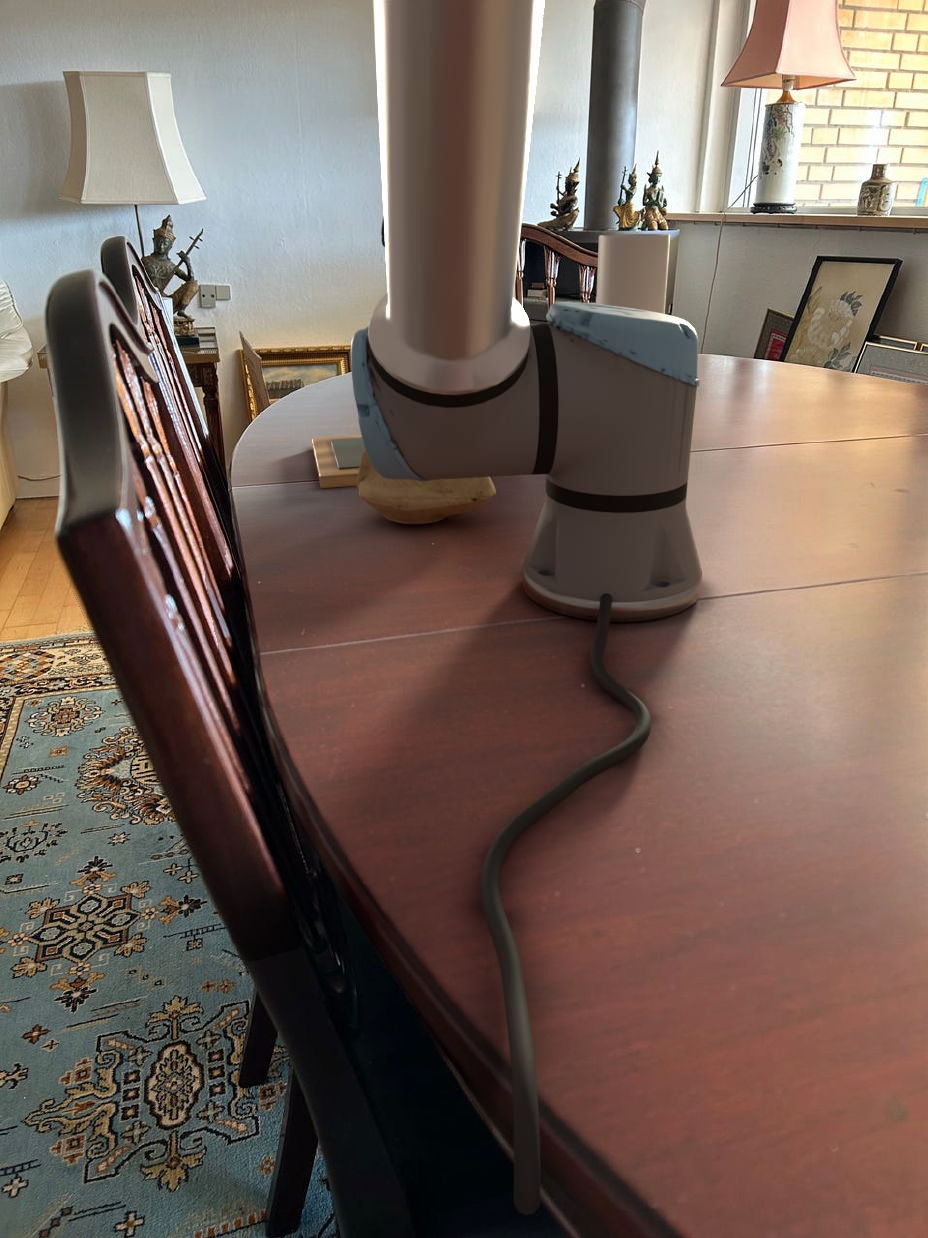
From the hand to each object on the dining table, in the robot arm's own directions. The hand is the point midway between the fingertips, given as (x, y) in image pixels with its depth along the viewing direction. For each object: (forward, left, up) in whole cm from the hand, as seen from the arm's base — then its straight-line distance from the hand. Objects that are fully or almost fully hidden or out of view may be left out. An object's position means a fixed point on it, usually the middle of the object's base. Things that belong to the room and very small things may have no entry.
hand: (435, 314), depth 90 cm
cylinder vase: (+85, -8, -21) cm, 88 cm away
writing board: (+17, +15, -21) cm, 31 cm away
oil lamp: (-3, +1, -21) cm, 21 cm away
